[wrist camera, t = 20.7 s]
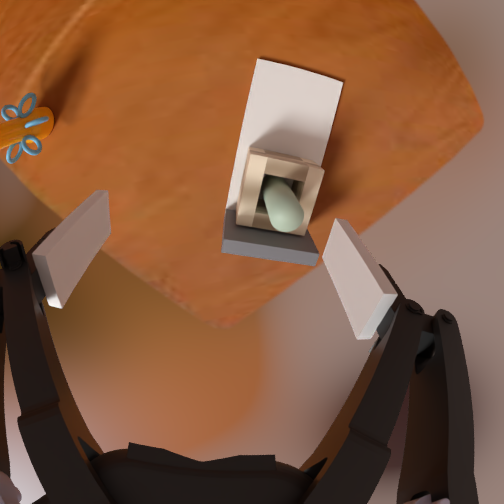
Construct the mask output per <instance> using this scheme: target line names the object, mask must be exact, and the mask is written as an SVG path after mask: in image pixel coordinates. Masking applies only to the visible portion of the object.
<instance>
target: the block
mask: <svg viewBox="0 0 504 504" xmlns="http://www.w3.org/2000/svg"><path fill="white" fill-rule="evenodd" d="M324 171H325V170H323V169H322V168H321V167H320V166H319V165H318V164H316V163H315V162H314V161H312V160H308V159H304V158H300V157H296V156H292V155H287V154H283V153H278V152H274V151H269V150H264V149H259V148H254V147H248V152H247V157H246V161H245V166H244V171H243V176H242V181H241V185H240V190H239V195H238V200H237V205H236V224H237V225H243V226H249V227H256V228H262V229H268V230H273V231H279V230H277V229H275V228H274V227H273V226H272V224H271V221H270V218H269V214H268V211H267V208H266V204H265V201H264V199H258V197H259V193H260V188H261V184H262V180H263V176H264V174H269V175H274V176H279V177H284V178H289V179H293V184H292V188H291V190H292V192H293V193H294V195H295V197H296V198H297V200H298V202H299V203H300V205H301V207H302V209H303V211H304V219H303V222H302V224H301V225H300V226H299V227H298V228H297V229H295V230H293V231H290V232H285V233H291V234H297V235H302V236H305V233H306V230H307V226H308V223H309V220H310V217H311V214H312V211H313V208H314V204H315V201H316V198H317V195H318V191H319V188H320V185H321V181H322V178H323V175H324ZM279 232H282V231H279Z"/></svg>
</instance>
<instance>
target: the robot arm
mask: <svg viewBox="0 0 504 504" xmlns="http://www.w3.org/2000/svg"><path fill="white" fill-rule="evenodd" d="M110 234H111V227H110V215H109V199H108V191H107V190H96V191H95V192H94V193H93V194H91V195H90V196H89V197H88V198H87V199H86V200H85V201H84V202H83V203H81V204H80V205H79V206H78V207H77V208H76V209H75V210H74V211H73V212H72V213H71V214H70V215H69V216H68V217H67V218H66V219H64V220H63V221H62V222H61V223H60V224H59V225H58V226H57V227H56V228H54V229H51V230H50V231H48V232H47V233H46V234H45V235H44V236H43V237H42V238H41V239H40V240H39V241H38V242H37V244H35V245H34V246H33V247H32V248H31V249H30V251H29V252H28V253H27V254H25V251H24V247H23V244H22V242H21V241H20V240H12V241H9V242H7V243H5V244H3V245H2V246H1V247H0V263H1V266H2V269H0V504H20V503H19V502H20V501H21V493H20V491H19V490H18V488H16V487H15V486H14V484H13V482H12V481H11V479H10V461H9V454H8V445H7V437H6V427H5V414H4V364H5V351H6V341H7V348H8V355H9V361H10V367H11V372H12V377H13V381H14V386H15V390H16V394H17V398H18V402H19V405H20V409H21V416H20V417H18V420H17V422H18V427H19V430H20V433H21V436H22V439H23V442H24V445H25V447H26V450H27V453H28V455H29V458H30V460H31V463H32V465H33V467H34V469H35V472H36V474H37V476H38V478H39V480H40V482H41V484H42V486H43V488H44V490H45V492H46V495H44V496H42V497H41V498H40V499H38V500H37V501H35V502H34V503H32V504H367V503H368V501H369V499H370V498H371V496H372V494H373V492H374V490H375V488H376V486H377V484H378V482H379V480H380V478H381V476H382V474H383V472H384V470H385V468H386V465H387V463H388V461H389V458H390V455H391V449H389V448H388V447H387V444H388V441H389V438H390V436H391V434H392V431H393V429H394V426H395V423H396V421H397V418H398V415H399V412H400V409H401V407H402V403H403V401H404V398H405V395H406V391H407V388H408V385H410V386H409V408H408V421H407V431H406V440H405V448H404V455H403V462H402V468H401V473H400V479H399V485H398V491H397V504H479V502H478V495H477V488H476V482H475V477H474V424H473V410H472V400H471V392H470V384H469V377H468V371H467V365H466V360H465V354H464V349H463V345H462V340H461V336H460V332H459V328H458V324H457V321H456V319H455V317H454V316H453V315H452V314H451V313H450V312H449V311H446V310H443V309H440V310H438V311H437V313H436V314H435V315H434V316H430V315H427V314H425V313H424V310H423V308H422V307H421V306H420V305H419V304H418V303H416V302H415V301H413V300H410V299H406V298H405V297H404V295H403V293H402V292H401V290H400V289H399V287H398V286H397V284H395V281H394V280H393V278H392V277H391V275H390V274H389V272H388V271H387V270H386V269H385V268H384V267H383V266H382V265H381V264H378V263H377V262H376V260H375V259H374V257H373V256H372V254H371V253H370V252H369V250H368V249H367V247H366V246H365V244H364V243H363V242H362V240H361V239H360V237H359V236H358V235H357V233H356V232H355V230H354V229H353V228H352V226H351V225H350V224H349V222H348V221H347V220H343V219H338V218H335V221H334V224H333V227H332V230H331V233H330V236H329V239H328V242H327V245H326V248H325V250H324V253H323V256H322V258H323V260H324V263H325V265H326V267H327V269H328V272H329V274H330V276H331V278H332V280H333V283H334V285H335V288H336V290H337V292H338V294H339V297H340V299H341V302H342V304H343V307H344V309H345V311H346V314H347V316H348V318H349V321H350V323H351V326H352V329H353V331H354V334H355V336H356V339H371V337H372V336H373V334H374V333H375V331H376V330H377V332H378V334H379V337H378V339H377V340H376V342H375V343H374V345H373V346H372V348H371V349H370V350H369V352H370V355H369V357H368V360H367V362H366V363H365V365H364V367H363V370H362V371H361V374H360V375H359V377H358V379H357V381H356V383H355V385H354V387H353V389H352V391H351V393H350V394H349V396H348V398H347V400H346V402H345V404H344V405H343V407H342V409H341V410H340V412H339V414H338V415H337V417H336V419H335V421H334V422H333V424H332V425H331V427H330V429H329V430H328V432H327V433H326V435H325V436H324V438H323V440H322V441H321V442H320V444H319V445H318V447H317V448H316V450H315V451H314V453H313V454H312V455H311V456H310V457H309V458H308V459H307V460H306V461H305V463H304V464H303V465H302V466H301V467H300V468H299V469H297V468H295V467H293V466H291V465H288V464H285V463H281V462H277V461H275V455H238V456H233V457H228V458H223V459H217V460H211V461H205V462H201V461H196V460H193V459H190V458H187V457H184V456H182V455H179V454H176V453H173V452H170V451H168V450H165V449H162V448H156V447H150V446H145V445H139V444H135V443H130V442H129V446H128V449H119V450H114V451H110V452H107V453H103V451H102V449H101V448H100V446H99V445H98V443H97V442H96V441H95V439H94V438H93V436H92V435H91V433H90V431H89V429H88V428H87V426H86V424H85V422H84V419H83V417H82V415H81V413H80V411H79V409H78V407H77V405H76V402H75V400H74V398H73V395H72V393H71V391H70V388H69V386H68V383H67V381H66V378H65V375H64V373H63V370H62V367H61V364H60V362H59V359H58V356H57V353H56V350H55V347H54V343H53V340H52V336H51V333H50V329H49V326H48V322H47V318H46V314H45V310H44V306H43V304H42V300H43V298H44V297H45V296H46V298H47V301H48V304H49V305H50V306H54V307H58V308H63V306H64V304H65V303H66V301H67V299H68V298H69V296H70V294H71V292H72V291H73V289H74V287H75V286H76V284H77V283H78V281H79V279H80V278H81V276H82V275H83V273H84V272H85V270H86V268H87V267H88V265H89V264H90V262H91V261H92V259H93V258H94V256H95V255H96V254H97V252H98V251H99V249H100V248H101V246H102V245H103V243H104V242H105V241H106V239H107V238H108V236H109V235H110ZM409 381H410V383H409Z"/></svg>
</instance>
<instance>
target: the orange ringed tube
mask: <svg viewBox="0 0 504 504" xmlns="http://www.w3.org/2000/svg"><path fill="white" fill-rule="evenodd" d="M30 97H31V98H32V104H31V107H30V108H29V110H27V111H25V112H24V113H22V106H23V104H24V102H25V101H26V100H27V99H28V98H30ZM35 104H36V95H35V94H34V93H28V94H27V95H25V96H24V97H23V98H22V100H21V101H20V103H19V106H18V108H17V107H15V106H13V105H5V106H4V107H3V108H2V111H1V114H2V116H3V118H4V119H5V120H6V121H4V122H1V123H0V149H2V148H4V147H7V146H9V145H10V147H9V149H8V151H7V155H6V158H7V161H8V163H11V164H12V163H14V162H16V161H17V160H18V159H19V157H20V156H21V154H22V151H23V149H24V150H25V151H26V152H27V153H28V154H30V155H37V154H39V153H40V152H41V150H42V144H41V142H40V140H41V139H44V138H46V137H47V136H48V135H49V134H50V133H51V131H52V129H53V126H54V115H53V113H52V111H51V110H50V109H49V108H48V107H38V108H34V107H35ZM6 109H11V110H13V111H14V112H15V113H16V115H17V117H15V118H12V117H9V116H8V115H7V114H6V112H5V110H6ZM33 142H35V143H36V144H37V146H38V149H37V150H32V149H30V148H29V147H28V146H27V145H26V143H33ZM16 144H19V145H20V148H19V151H18V153H17V155H16V156H15V157H14V158H13V159H11V158H10V155H11V151H12V149H13V147H14V146H15V145H16Z"/></svg>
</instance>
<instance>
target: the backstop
mask: <svg viewBox="0 0 504 504" xmlns="http://www.w3.org/2000/svg"><path fill="white" fill-rule="evenodd" d="M342 85H343V82H340V81H338V80H335V79H332V78H329V77H326V76H323V75H320V74H316V73H313V72H310V71H306V70H303V69H299V68H296V67H292V66H288V65H284V64H280V63H275V62H271V61H267V60H262V59H257V63H256V67H255V71H254V75H253V80H252V84H251V88H250V93H249V97H248V102H247V106H246V111H245V115H244V120H243V125H242V129H241V134H240V139H239V144H238V149H237V154H236V159H235V164H234V169H233V174H232V179H231V184H230V189H229V195H228V200H227V205H226V211H225V217H224V226H223V237H222V249H221V252H222V253H229V254H236V255H242V256H249V257H256V258H263V259H269V260H276V261H283V262H290V263H297V264H303V265H310V266H315V265H316V262H317V259H318V257H319V252H318V250H317V248H316V246H315V244H314V242H313V240H312V238H311V236H310V234H309V232H308V230H306V233H305V236H302V235H297V234H291V233H285V232H279V231H273V230H268V229H262V228H256V227H249V226H243V225H237V224H236V205H237V200H238V195H239V190H240V185H241V181H242V176H243V171H244V166H245V161H246V157H247V152H248V147H254V148H259V149H264V150H269V151H274V152H278V153H283V154H287V155H292V156H296V157H300V158H304V159H308V160H312V161H314V162H315V163H316V164H318V165H319V166H320V167H321V164H322V160H323V157H324V153H325V150H326V146H327V142H328V139H329V135H330V131H331V128H332V124H333V120H334V116H335V113H336V109H337V105H338V101H339V97H340V93H341V89H342ZM265 175H267V174H264V176H265ZM264 176H263V177H264ZM284 179H285V180H286V182H287V183H288V185H289V187H290V188H292V184H293V179H289V178H284ZM258 199H264V197H263V194H262V191H261V188H260V193H259V197H258Z"/></svg>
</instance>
